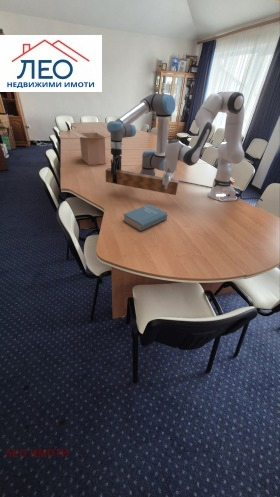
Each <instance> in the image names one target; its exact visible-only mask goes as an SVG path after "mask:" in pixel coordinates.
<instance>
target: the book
mask: <svg viewBox="0 0 280 497" xmlns="http://www.w3.org/2000/svg"><path fill="white" fill-rule="evenodd" d="M167 219H168V212H167V211H164V210H162V209H161V208H158V207H156V206H153V205H152V204H150V203H148V204H146V205H143V206H140V207H138V208H135V209H132V210H130V211H127V212H125V213H123V220H122V221H123V222H124V223H126V224H128V225H129V226H130V227H132V228H134V229H135V230H138V231H139V232H142V231H144V230H147V229H148V228H151V227H152V226H155V225H157V224H159V223H161V222H164V221H166V220H167Z"/></svg>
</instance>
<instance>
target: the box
mask: <svg viewBox="0 0 280 497" xmlns="http://www.w3.org/2000/svg"><path fill="white" fill-rule="evenodd" d="M70 133H71V134H72V135H74V136H75V137H77V138H79V144H80V153H81V160H83V162H85V163H86V165H87V166H95V165H97V166H98V165H106V163H107V162H106V158H107V157H106V138H111V134H109V133H108V132H105V131H98V132H96V131H95V130H92V129H91V130H77V132H76V131H70Z"/></svg>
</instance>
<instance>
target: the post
mask: <svg viewBox="0 0 280 497" xmlns="http://www.w3.org/2000/svg"><path fill="white" fill-rule="evenodd" d="M162 181H163V177H162V176H157V175H156V176H151V175H146V174H140V172H133V171H129V170H122V169H121V170H117V169H116V184H115V183H113V174H111V167H108V168H106V169H105V182H106V183H110V184H114V185H120V186H124V187H130V188H136V189H141V190H145V191H146V190H147V191H151V192H156V193H162V194H167V195H173V196H177V193H178V192H179V191H178V190H179V185H180V182H179V181H180V180H179V179H173V178H172V179H171V181H170V182H169V184H168V188H167V189H165V185H163V184H162Z"/></svg>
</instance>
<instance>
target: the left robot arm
mask: <svg viewBox="0 0 280 497" xmlns="http://www.w3.org/2000/svg"><path fill="white" fill-rule="evenodd" d="M175 110H176V100H175V98H174V96H173V95H172V94H167V93H157V92H156V93H155V92H154V93H151V94H149V95H147V96H146V97H143V99H141V100H140V101H139V103H138V104H137V105H135V106H134V107H132V108H131V109H130V110H129V111H127V112H126V113H124V114H123V115H121V116H120V117H119V118H117V119H115V120H112V121H111V120H110V121H109V122H108V123H107V124H106V129H107V131H108V133H110V135H111V137H110V155H112V159H110V168H111V174H113V183H112V184H114V183H115V184H114V185H117V184H116V169H117V170H122V158H123V157H122V154H123V139H124V138H133V137H135V136H136V134H137V128H136V126H135V125H134V124H133V123H134V122H135V121H137V120H138V119H139V118H141V117H142V116H144V115H147V114H149V113H152V112H153V113H155V117H156V118H157V126H156V127H157V129H156V130H157V131H156V148H155V149H156V150H145V151H143V152H142V159H141V169H140V172H139V173H140V174H146V175H151V176H157V174H156V170H158V171H162V172H165V170H164V169H163V165H164V160H165V149H166V145H167V142H168V141H169V140H168V139H169V127H170V126H169V125H170V118H171V117H172V115H173V114H174V112H175ZM179 183H185V184H189V185H195V186H200V187H205V188H210V189H212V186H208V185H204V184H199V183H194V182H188V181H185V180H184V181H183V180H179Z"/></svg>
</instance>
